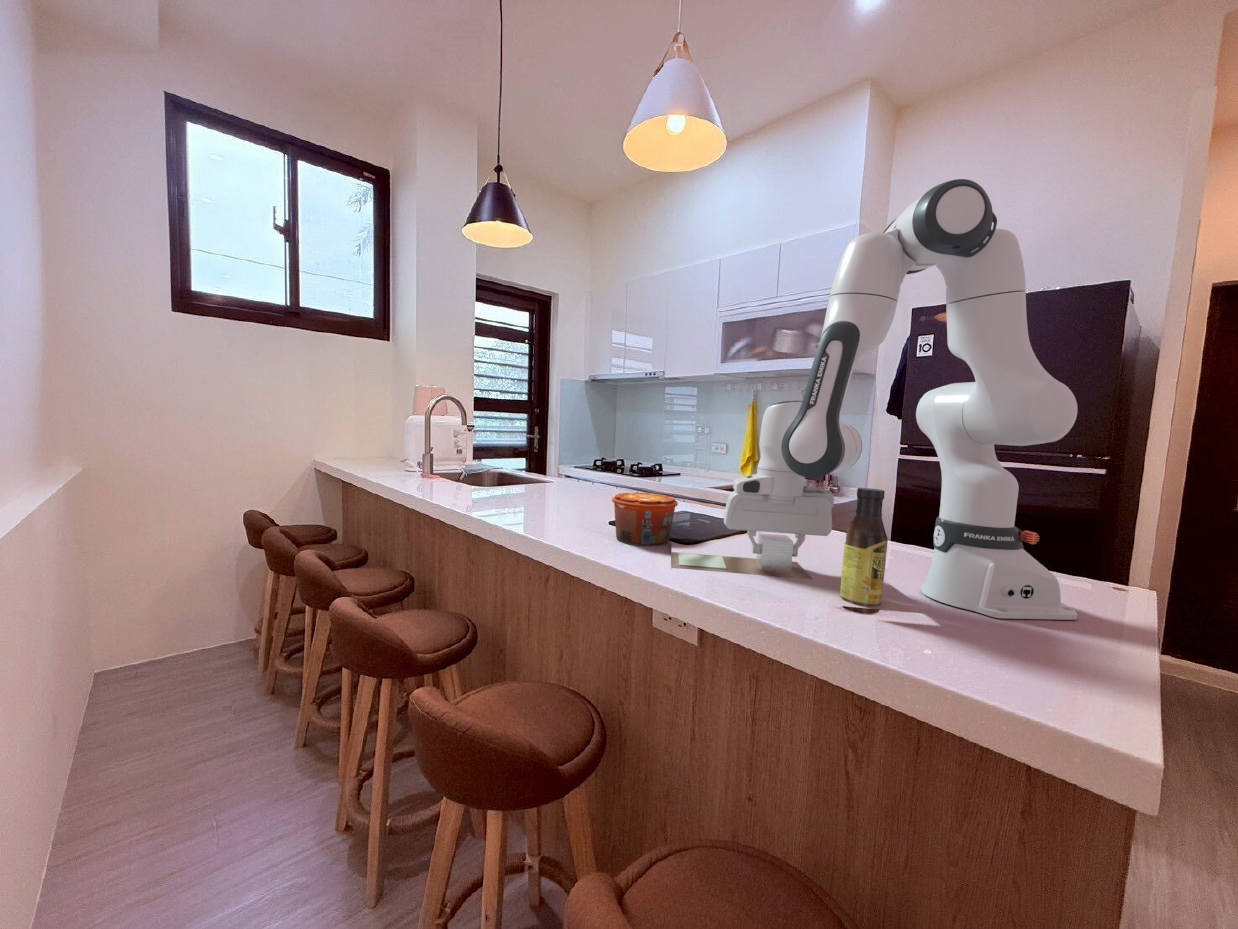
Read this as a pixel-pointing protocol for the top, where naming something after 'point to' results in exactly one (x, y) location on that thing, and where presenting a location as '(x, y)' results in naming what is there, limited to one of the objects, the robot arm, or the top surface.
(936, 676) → the top surface
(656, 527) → the food container
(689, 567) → the post board
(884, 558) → the sauce bottle
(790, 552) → the white cube
